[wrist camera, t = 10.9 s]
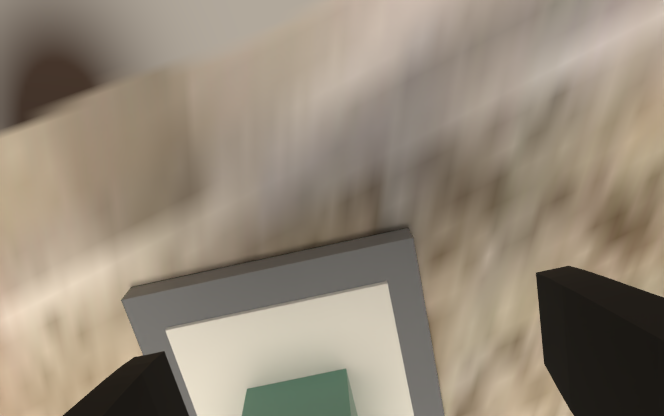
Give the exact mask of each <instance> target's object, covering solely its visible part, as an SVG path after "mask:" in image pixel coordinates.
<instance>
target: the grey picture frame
mask: <svg viewBox="0 0 664 416" xmlns="http://www.w3.org/2000/svg"><path fill="white" fill-rule="evenodd" d="M121 301H122V303H123V306H124V308H125V311H126V313H127V316H128V318H129V321H130V323H131V326H132V328H133V331H134V333H135V336H136V338H137V341H138V343H139V346H140V348H141V351H142V353H143V355H148V354H153V353H158V352H162V351H165V354H166V357H167V359H168V362H169V365H170V367H171V370H172V372H173V375H174V378H175V380H176V383H177V385H178V388H179V391H180V393H181V396H182V398H183V401H184V404H185V406H186V409H187V412H188V414H189V416H242V412H243V406H244V401H245V396H246V391H247V389H248V388H253V387H258V386H263V385H268V384H273V383H278V382H282V381H287V380H292V379H297V378H302V377H307V376H312V375H316V374H321V373H326V372H331V371H336V370H341V369H346V370H347V374H348V378H349V382H350V386H351V390H352V394H353V399H354V403H355V407H356V411H357V415H358V416H444V410H443V404H442V399H441V393H440V387H439V381H438V376H437V370H436V364H435V359H434V353H433V347H432V341H431V336H430V330H429V324H428V319H427V313H426V307H425V302H424V296H423V290H422V284H421V279H420V273H419V267H418V262H417V256H416V250H415V244H414V239H413V236H412V234H411V232H410V230H409V229H408V228H406V229H401V230H396V231H392V232H387V233H382V234H378V235H373V236H368V237H364V238H359V239H354V240H350V241H345V242H340V243H336V244H331V245H326V246H322V247H317V248H313V249H308V250H303V251H299V252H294V253H289V254H285V255H280V256H275V257H271V258H266V259H261V260H257V261H252V262H247V263H243V264H238V265H233V266H229V267H224V268H219V269H215V270H210V271H206V272H201V273H196V274H192V275H187V276H182V277H178V278H173V279H168V280H164V281H159V282H154V283H150V284H145V285H140V286H136V287H131V288H130V289H129V291H128V292H127V293H126V295H125V296H124V297H123V299H122V300H121Z"/></svg>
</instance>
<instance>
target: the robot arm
mask: <svg viewBox="0 0 664 416" xmlns="http://www.w3.org/2000/svg"><path fill="white" fill-rule="evenodd" d="M536 278H537V289H538V300H539V311H540V322H541V333H542V344H543V355H544V364H545V366H546V368H547V369H548V371H549V373H550V375H551V377H552V379H553V380H554V382H555V384H556V386H557V388H558V390H559V391H560V393H561V395H562V396H563V398H564V400H565V402H566V403H567V405H568V407H569V408H570V410H571V412H572V413H573V415H574V416H664V298H663V297H660V296H657V295H654V294H652V293H649V292H646V291H643V290H640V289H637V288H635V287H632V286H629V285H626V284H623V283H621V282H618V281H615V280H612V279H609V278H606V277H603V276H600V275H598V274H595V273H592V272H588V271H585V270H582V269H579V268H575V267H571V266H566V267H561V268H556V269H552V270H547V271H542V272H537V273H536ZM63 416H189V414H188V412H187V409H186V406H185V404H184V401H183V398H182V396H181V393H180V391H179V388H178V385H177V383H176V380H175V378H174V375H173V372H172V370H171V367H170V365H169V362H168V359H167V357H166V354H165V351H162V352H158V353H153V354H148V355H143V356H139V357H134V358H133V359H131V360H130V361H128V362H127V363H125V364H124V365H123V366H121V367H120V368H119V369H117V370H116V371H115V372H114V373H112V374H111V375H110V376H109V377H108V378H106V379H105V380H104V381H103V382H102V383H100V384H99V385H98V386H97V387H96V388H94V389H93V390H92V391H91V392H90V393H89V394H87V395H86V396H85V397H84V398H83V399H82V400H80V401H79V402H78V403H77V404H76V405H75V406H73V407H72V408H71V409H70V410H69V411H68V412H66V413H65V414H64V415H63Z"/></svg>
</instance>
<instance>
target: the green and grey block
mask: <svg viewBox="0 0 664 416" xmlns="http://www.w3.org/2000/svg"><path fill="white" fill-rule="evenodd" d="M242 416H358V415H357V411H356V407H355V403H354V399H353V394H352V390H351V386H350V382H349V378H348V374H347V370H346V369H341V370H336V371H331V372H326V373H321V374H316V375H312V376H307V377H302V378H297V379H292V380H287V381H282V382H278V383H273V384H268V385H263V386H258V387H253V388H248V389H247V391H246V396H245V401H244V406H243V412H242Z"/></svg>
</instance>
